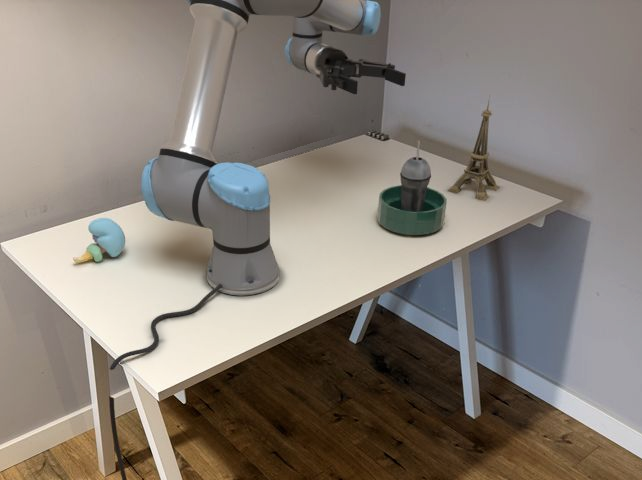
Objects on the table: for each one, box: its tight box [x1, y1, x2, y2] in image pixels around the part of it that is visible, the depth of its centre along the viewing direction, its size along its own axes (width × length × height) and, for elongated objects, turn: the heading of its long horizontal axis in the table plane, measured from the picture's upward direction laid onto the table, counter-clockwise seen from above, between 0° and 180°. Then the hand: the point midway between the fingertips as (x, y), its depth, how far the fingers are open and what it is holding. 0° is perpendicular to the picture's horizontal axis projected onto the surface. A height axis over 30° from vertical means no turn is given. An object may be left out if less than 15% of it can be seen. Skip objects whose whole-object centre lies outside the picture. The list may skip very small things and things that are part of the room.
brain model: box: [72, 217, 126, 264], centre depth 147 cm, size 7×9×12 cm
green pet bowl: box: [376, 184, 447, 236], centre depth 164 cm, size 16×16×6 cm
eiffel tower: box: [447, 95, 500, 201], centre depth 176 cm, size 11×11×25 cm
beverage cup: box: [399, 140, 432, 212], centre depth 159 cm, size 7×7×20 cm
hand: (380, 83), depth 152 cm, fingers open, 13 cm apart
